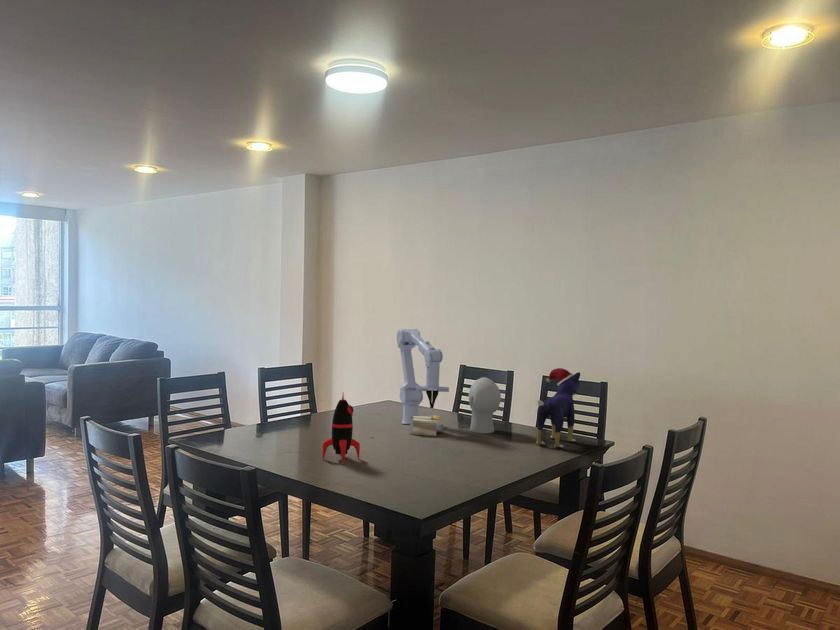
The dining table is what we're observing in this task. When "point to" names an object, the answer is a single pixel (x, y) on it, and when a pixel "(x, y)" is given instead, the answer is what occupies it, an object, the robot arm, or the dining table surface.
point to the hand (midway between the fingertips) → (431, 407)
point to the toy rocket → (342, 430)
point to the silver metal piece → (439, 430)
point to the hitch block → (424, 425)
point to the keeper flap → (435, 417)
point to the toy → (559, 406)
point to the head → (483, 404)
